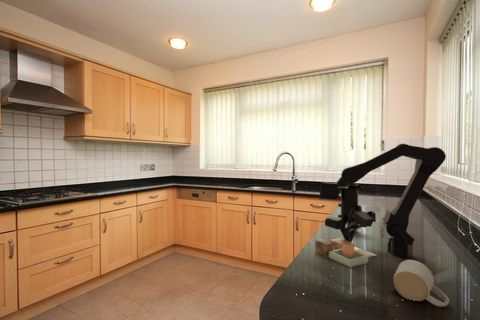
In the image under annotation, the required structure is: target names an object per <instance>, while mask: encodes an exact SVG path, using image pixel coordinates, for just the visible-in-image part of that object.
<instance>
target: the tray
mask: <svg viewBox="0 0 480 320" xmlns="http://www.w3.org/2000/svg"><path fill="white" fill-rule="evenodd" d="M328 259H331V260H332V259H333V260H332V261H335V262H336V263H339V264H341V265H344V266H346V267H348V268H355V267H358V266H362V265H365V264H368V263H369V258H368V256H367V255H364V254H362V253H359V252H357V251H354V258H353V259H348V258H346V257H344V256H342V249H338V250H333V251H329V258H328Z"/></svg>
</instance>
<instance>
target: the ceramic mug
mask: <svg viewBox="0 0 480 320" xmlns="http://www.w3.org/2000/svg"><path fill="white" fill-rule="evenodd" d="M393 286H394V288H395V290H396V292H397V293H398V294H399V295H400V296H401V297H402V298H404V299H405V300H408V299H409V300H408V301H410V300H413V301H412V302H414V301H419V302H423V301H424V300H426V301H428V303H431V304H432V305H433V306H436V305H437V306H436V307H438V306H446V305H447V306H448V305H449V303H450V299H449V297H448V296H447V295H446V294H445V293H444V292H443V291H442V290H441V289H440V288H438V286H436V285H435V278H434V275H433V272H432V271H431V270H430V269H429V268H428V267H427V266H426V265H425V264H424V263H422V262H420V261H418V260H415V259H405V260H404V261H401V262H400V263H399V265H398V267H397V269H396V271H395V273H394V275H393ZM432 292H433V294H436V296H437V297H439V298H440V299H441V300H440V299H437V298H435V297H433V296H432V295H431V293H432ZM443 301H444V302H443ZM447 306H446V307H447Z"/></svg>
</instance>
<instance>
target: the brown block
mask: <svg viewBox="0 0 480 320" xmlns="http://www.w3.org/2000/svg"><path fill="white" fill-rule="evenodd" d="M315 251H316V252H315ZM329 251H333V243H332V242H330V241H328V240H326V239H324V238H319V239H318V238H317V239H315V250H314V252H315V253H317V254H320V255H322V256H324V257H326V258H328V257H327V256H329Z"/></svg>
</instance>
